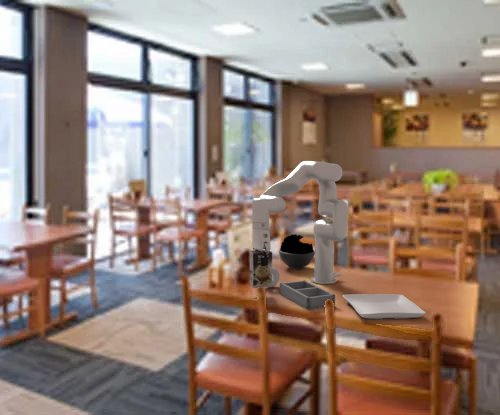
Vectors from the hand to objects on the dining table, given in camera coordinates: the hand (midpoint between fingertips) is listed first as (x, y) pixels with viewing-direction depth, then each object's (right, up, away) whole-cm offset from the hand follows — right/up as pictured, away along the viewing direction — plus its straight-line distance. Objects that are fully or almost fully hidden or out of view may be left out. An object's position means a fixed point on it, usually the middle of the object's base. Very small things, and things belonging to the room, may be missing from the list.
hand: (260, 263), depth 232 cm
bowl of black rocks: (+21, -9, +56) cm, 60 cm away
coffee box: (0, -10, +1) cm, 11 cm away
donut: (+5, -13, +16) cm, 21 cm away
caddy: (+20, -16, -4) cm, 26 cm away
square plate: (+50, -18, -17) cm, 56 cm away
